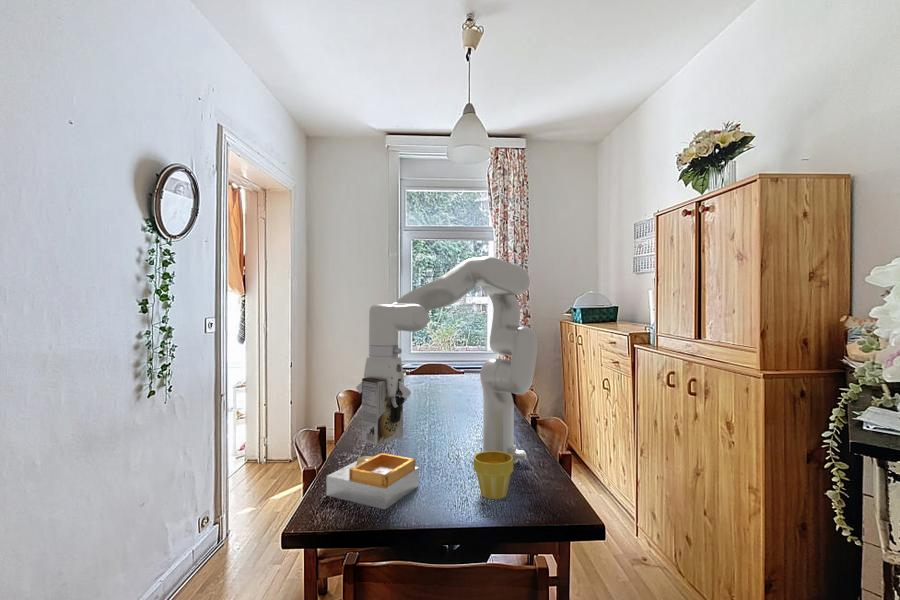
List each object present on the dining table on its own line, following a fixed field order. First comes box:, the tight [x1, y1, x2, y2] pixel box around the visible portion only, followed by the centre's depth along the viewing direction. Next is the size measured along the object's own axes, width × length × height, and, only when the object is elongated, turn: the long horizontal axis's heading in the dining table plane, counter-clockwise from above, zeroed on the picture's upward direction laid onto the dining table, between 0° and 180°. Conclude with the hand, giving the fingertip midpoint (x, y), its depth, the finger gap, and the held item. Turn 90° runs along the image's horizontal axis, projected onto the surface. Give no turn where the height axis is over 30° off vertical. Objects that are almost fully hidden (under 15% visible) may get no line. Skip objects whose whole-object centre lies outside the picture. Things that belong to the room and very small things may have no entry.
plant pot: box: [473, 451, 515, 500], centre depth 123 cm, size 10×10×10 cm
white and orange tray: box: [326, 452, 420, 510], centre depth 125 cm, size 18×16×8 cm
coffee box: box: [361, 377, 404, 446], centre depth 123 cm, size 9×6×16 cm
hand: (382, 419), depth 123 cm, fingers closed on coffee box, 7 cm apart
